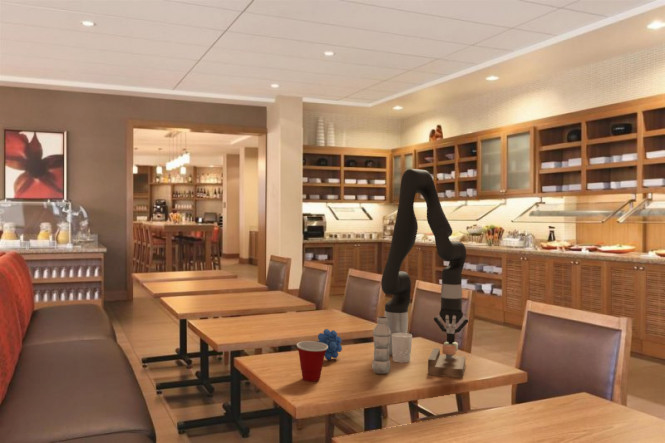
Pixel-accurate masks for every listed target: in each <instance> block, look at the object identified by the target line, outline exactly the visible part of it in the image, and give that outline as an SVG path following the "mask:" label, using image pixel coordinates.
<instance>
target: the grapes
mask: <svg viewBox="0 0 665 443" xmlns="http://www.w3.org/2000/svg"><path fill="white" fill-rule="evenodd" d="M317 338H318V340H317V341H316V342H320V343H324V344H326V345H327V346H328V349H327V350H326V353H325V356H324V359H326V360H328V361H330V360H331V359H332V358H333V359H337V358H339V353H340V352H342V350H343V346H342V345H341V343H342V338H341V336H338V333H337V331H336V330H331V331H330V330H329V329H328V328H325V329H324V330H323V332H320V333H318V335H317Z"/></svg>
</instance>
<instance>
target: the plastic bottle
mask: <svg viewBox="0 0 665 443" xmlns="http://www.w3.org/2000/svg"><path fill="white" fill-rule="evenodd" d="M376 323H377V324H376V325H375V327H374V329H373V330H372V335H373V347H374V350H373V359H372V364H371V366H372V371H373V372H374V373H375V374H377V375H378V374H379V375H384V374H385V375H386V374H389V372H390V371H391V359H390V355H389V342H390V335H391V331H390V329H389V327H388V325H387V317H385V315H384V316H380V315H379V316H377V317H376Z"/></svg>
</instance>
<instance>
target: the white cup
mask: <svg viewBox="0 0 665 443" xmlns="http://www.w3.org/2000/svg"><path fill="white" fill-rule="evenodd" d="M412 342H413V335H412V333H408V332H407V333H393V334H392V353H393V356H392V361H393V362H395V363H400V364H401V363H402V364H403V363H410V362H411V354H412Z"/></svg>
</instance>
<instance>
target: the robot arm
mask: <svg viewBox="0 0 665 443" xmlns="http://www.w3.org/2000/svg"><path fill="white" fill-rule="evenodd" d="M400 179H401V180H400V187H399V198H398V206H397V210H396V218H395V222H394V227H393V232H392V236H391V242H390V248H389V251H388V256H387V260H386V263H385V265H384V269H383V272H382V275H381V282H380V284H381V285H380V286H381V290H382V292H383V293H384V294H385V295H388V296H392V297H391V299H390V300H389V301H388V302H386V303H385V305H384V317H387V325H388V327H389V329H390V331H391V335H390V342H389V356H392V357H393V353H392V334H393V333H408V319H409V318H408V317H409V314H408V312H409V307H410V302H411V292H412V291H411V290H412V282H411V277H410V275H409V274H408V272H406V271H402V270H401V266H402V263H403V262H404V260H405V259H406V257H407V256H408V255H409V253H410V252H411V250H412V249H413V247H414V246H415V243H416V240H417V235H418V230H419V229H418V228H419V227H418V221H417V220H418V219H417V217H416V214H415V206H414V203H415V198H416V194H420V195H421V196H422V197H423V199H424V201H425V204H426V221H427V224H428V226H429V229H430V230H431V233H432V234H433V236H434V241H435V242H434V243H435V247H436V251H437V255H438V256H439V257H440V259H441V260H443V261H445V262H449V263H448V265H447V266H446V267H444V268H443V269H442V271H441V272H442V273H441V289H440V311H439V313H438V315H436V316H433V317H434V318H433V321H434V322H435V324H436V325H437V327H439V329H440V330H441V332H445V333H446V342H449V344H453V342H456V334H458V333H460V332H461V331H462V330H463V328H464V327H465V326H466V325H467V324H468V323H469V318H468V317H465V316H464V313H463V310H462V309H463V306H462V305H463V287H462V283H463V282H462V281H463V280H462V278H463V276H462V275H463V274H462V273H463V270H464V266H465V263H466V262H465V261H466V259H467V249H466V246H465V244H464V243H463V242H461V241H456V240H455V241H454V240H453V241H451V239H450V237H451V236H452V235H453V228H452V227H451V224H450V223H449V220H448V219H447V216H446V214H445V212H444V209H443V207H442V205H441V204H442V203H441V202H440V198H439V195H438V191H437V189H436V184H435V183H434V179H433V176H432V175H431V173H430V172H429V171H428V170H425V169H417V168H409V169H406V170H405V171H404V172H403V174H402V176H401V178H400ZM400 270H401V271H400ZM441 320H442V321H443V322H444V324H445V326H444V324H443V323H442V322H441ZM460 321H461V323H460V325H459V326H457V328H456V325H457V324H458V323H459V322H460Z"/></svg>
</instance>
